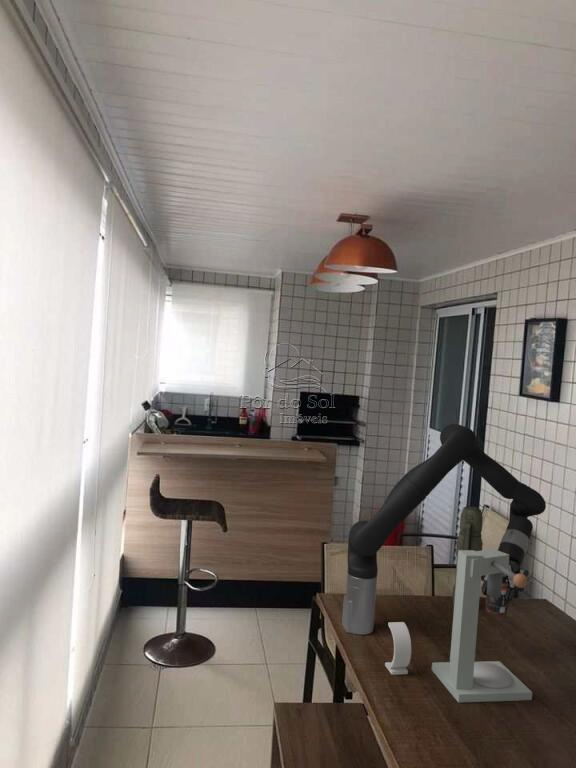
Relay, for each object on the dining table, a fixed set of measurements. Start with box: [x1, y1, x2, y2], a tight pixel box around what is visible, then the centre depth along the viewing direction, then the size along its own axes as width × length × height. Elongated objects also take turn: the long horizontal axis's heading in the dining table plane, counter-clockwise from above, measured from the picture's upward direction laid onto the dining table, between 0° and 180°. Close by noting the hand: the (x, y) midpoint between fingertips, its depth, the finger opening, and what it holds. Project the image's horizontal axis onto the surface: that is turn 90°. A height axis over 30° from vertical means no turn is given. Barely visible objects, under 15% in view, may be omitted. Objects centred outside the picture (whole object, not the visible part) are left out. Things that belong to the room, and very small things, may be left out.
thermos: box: [451, 505, 484, 606], centre depth 212 cm, size 9×12×35 cm
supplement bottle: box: [485, 573, 510, 617], centre depth 173 cm, size 6×6×11 cm
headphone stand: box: [384, 621, 412, 676], centre depth 162 cm, size 5×6×12 cm
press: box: [431, 548, 533, 704], centre depth 152 cm, size 20×26×36 cm
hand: (495, 597), depth 172 cm, fingers closed on supplement bottle, 6 cm apart
